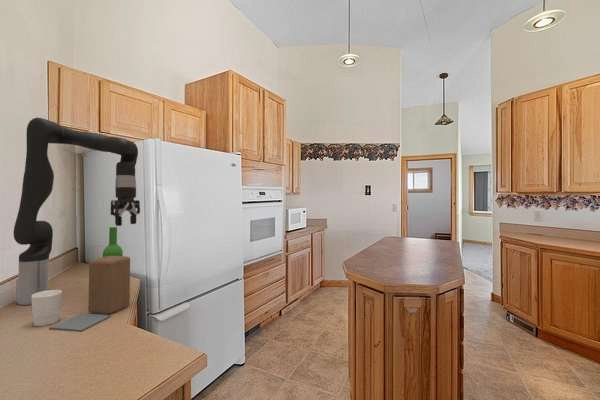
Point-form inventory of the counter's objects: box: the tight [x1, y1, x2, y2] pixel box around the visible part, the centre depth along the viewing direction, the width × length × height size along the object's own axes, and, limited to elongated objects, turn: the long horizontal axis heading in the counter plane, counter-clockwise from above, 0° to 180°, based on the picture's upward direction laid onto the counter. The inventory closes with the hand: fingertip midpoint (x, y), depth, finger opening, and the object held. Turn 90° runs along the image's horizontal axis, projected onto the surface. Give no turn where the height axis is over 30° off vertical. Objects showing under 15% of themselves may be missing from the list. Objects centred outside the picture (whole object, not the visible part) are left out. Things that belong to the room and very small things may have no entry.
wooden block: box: [87, 256, 131, 315], centre depth 112 cm, size 10×10×20 cm
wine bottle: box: [102, 226, 124, 257], centre depth 131 cm, size 8×8×30 cm
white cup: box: [31, 289, 63, 327], centre depth 100 cm, size 8×8×10 cm
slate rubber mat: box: [48, 313, 112, 333], centre depth 99 cm, size 12×12×1 cm
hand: (126, 224), depth 122 cm, fingers open, 8 cm apart
